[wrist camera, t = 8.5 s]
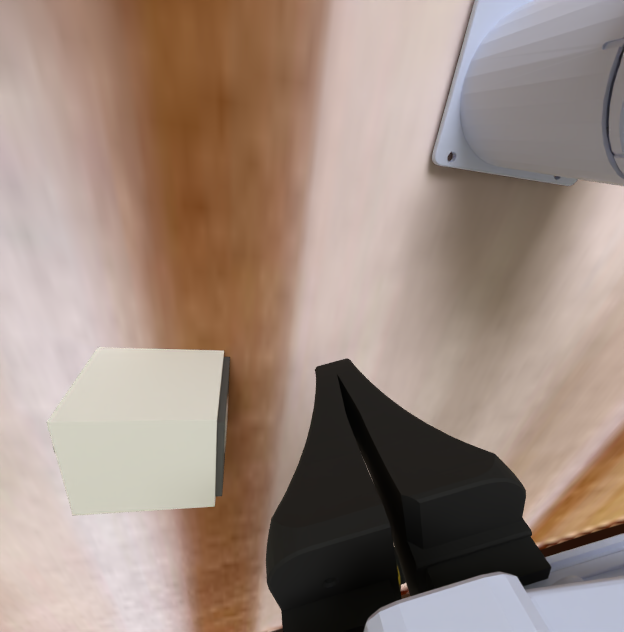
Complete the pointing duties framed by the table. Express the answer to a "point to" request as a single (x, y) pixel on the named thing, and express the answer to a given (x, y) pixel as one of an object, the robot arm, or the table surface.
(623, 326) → the table surface
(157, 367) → the white block
